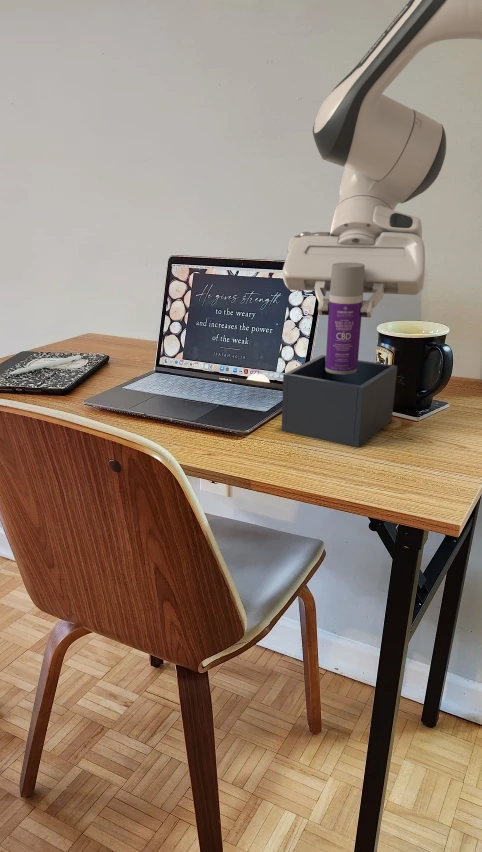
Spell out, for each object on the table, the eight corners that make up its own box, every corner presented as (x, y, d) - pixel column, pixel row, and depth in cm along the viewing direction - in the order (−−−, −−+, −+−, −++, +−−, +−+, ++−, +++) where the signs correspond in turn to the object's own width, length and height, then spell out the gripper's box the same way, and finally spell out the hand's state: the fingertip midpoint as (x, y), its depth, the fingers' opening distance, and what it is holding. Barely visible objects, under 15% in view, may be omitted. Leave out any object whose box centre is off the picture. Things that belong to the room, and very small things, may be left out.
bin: (391, 420, 107) (397, 365, 103) (358, 447, 98) (363, 387, 94) (318, 406, 114) (321, 354, 110) (281, 430, 105) (283, 374, 101)
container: (333, 376, 100) (340, 268, 93) (320, 367, 104) (325, 263, 97) (362, 372, 101) (371, 265, 94) (348, 364, 105) (355, 261, 98)
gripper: (288, 218, 102) (270, 297, 98) (432, 218, 96) (418, 304, 92) (294, 246, 108) (277, 322, 104) (430, 248, 101) (417, 330, 98)
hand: (344, 314), depth 98 cm, fingers closed on container, 4 cm apart
